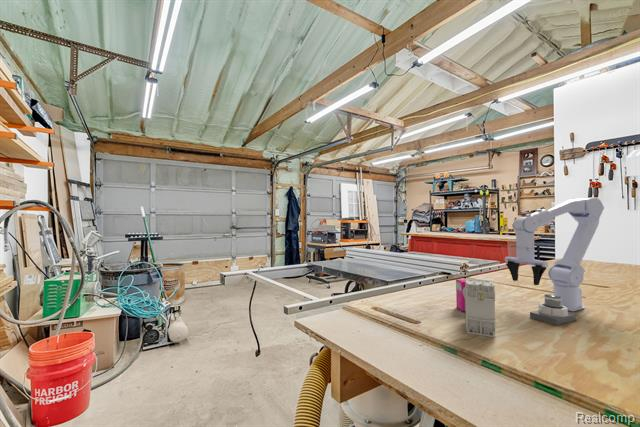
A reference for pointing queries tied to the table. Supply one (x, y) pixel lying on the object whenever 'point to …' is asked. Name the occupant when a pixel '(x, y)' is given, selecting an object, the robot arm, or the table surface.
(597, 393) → the table surface
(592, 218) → the robot arm
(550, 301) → the lens
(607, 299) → the table surface
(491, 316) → the circuit breaker
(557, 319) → the camera body
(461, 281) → the supplement box
